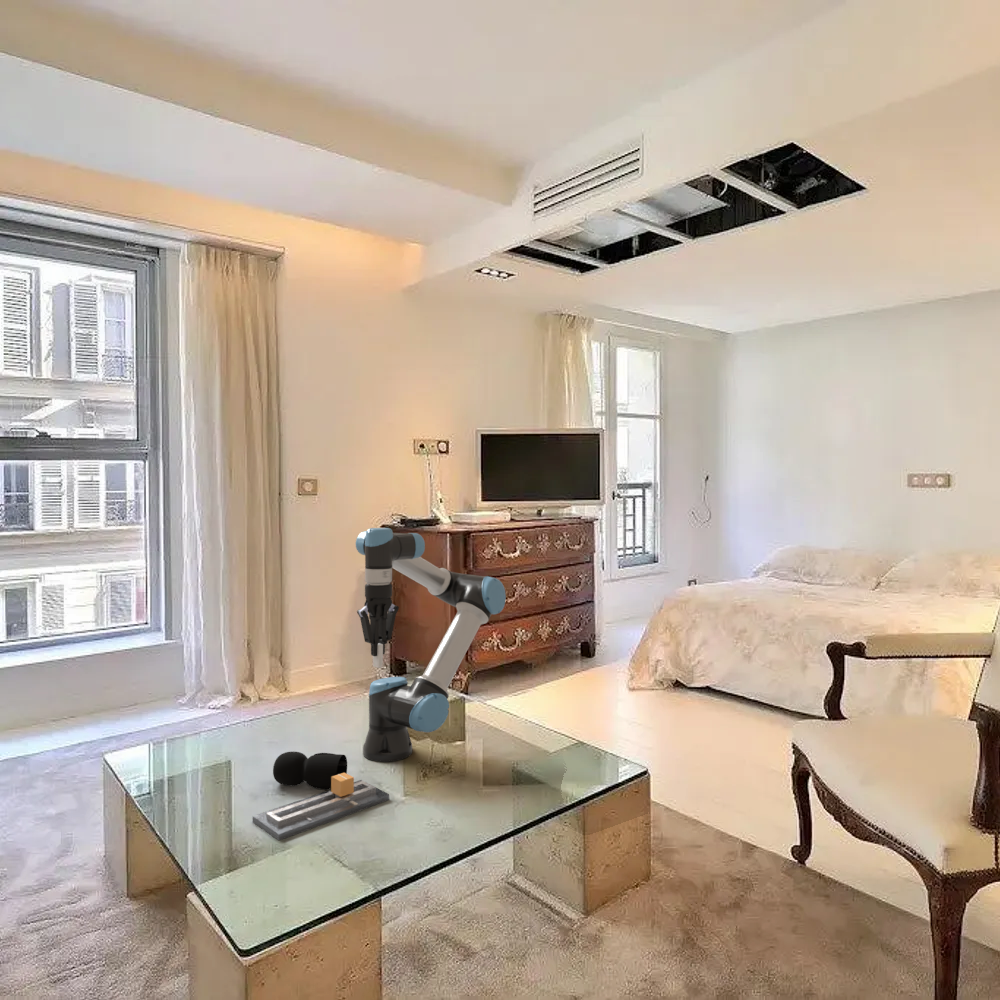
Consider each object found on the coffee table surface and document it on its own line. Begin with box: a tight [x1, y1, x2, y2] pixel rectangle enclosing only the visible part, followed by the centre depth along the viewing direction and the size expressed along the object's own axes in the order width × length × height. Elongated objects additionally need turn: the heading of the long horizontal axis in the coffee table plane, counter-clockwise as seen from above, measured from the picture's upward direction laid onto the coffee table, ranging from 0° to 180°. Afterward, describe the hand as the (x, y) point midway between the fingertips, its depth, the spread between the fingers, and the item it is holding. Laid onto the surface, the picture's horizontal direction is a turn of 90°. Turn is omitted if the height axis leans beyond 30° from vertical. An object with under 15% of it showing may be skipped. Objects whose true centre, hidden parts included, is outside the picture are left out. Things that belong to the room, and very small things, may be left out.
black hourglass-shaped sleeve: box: [272, 751, 348, 791], centre depth 204 cm, size 9×9×20 cm
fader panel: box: [252, 779, 390, 841], centre depth 189 cm, size 32×13×3 cm, turn 135°
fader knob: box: [330, 773, 355, 798], centre depth 192 cm, size 4×4×5 cm
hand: (377, 666), depth 207 cm, fingers closed
